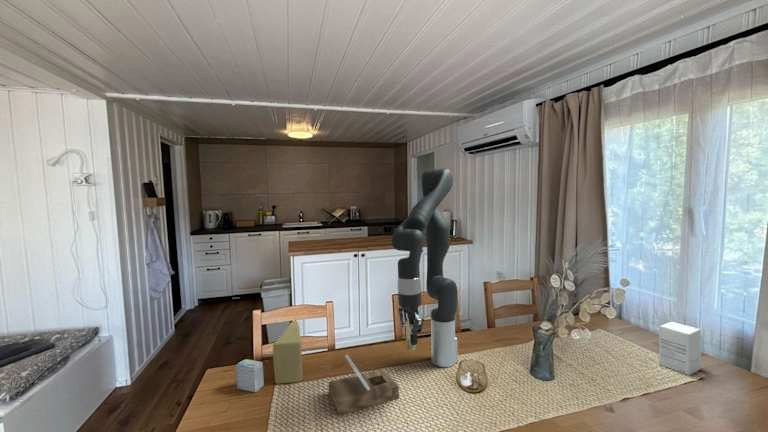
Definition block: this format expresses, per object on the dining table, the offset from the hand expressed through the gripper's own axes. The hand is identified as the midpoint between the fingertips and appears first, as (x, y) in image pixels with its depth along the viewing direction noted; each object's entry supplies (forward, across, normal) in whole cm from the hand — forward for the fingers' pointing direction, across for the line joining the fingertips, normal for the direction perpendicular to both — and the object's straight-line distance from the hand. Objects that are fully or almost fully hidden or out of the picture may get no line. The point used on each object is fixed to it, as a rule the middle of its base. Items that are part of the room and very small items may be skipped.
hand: (411, 342), depth 104 cm
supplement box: (+19, -28, -96) cm, 102 cm away
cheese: (+17, +34, +34) cm, 51 cm away
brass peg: (+2, 0, 0) cm, 2 cm away
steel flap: (+8, +5, +18) cm, 20 cm away
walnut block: (+17, +5, +16) cm, 23 cm away
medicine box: (+16, +27, +49) cm, 58 cm away
